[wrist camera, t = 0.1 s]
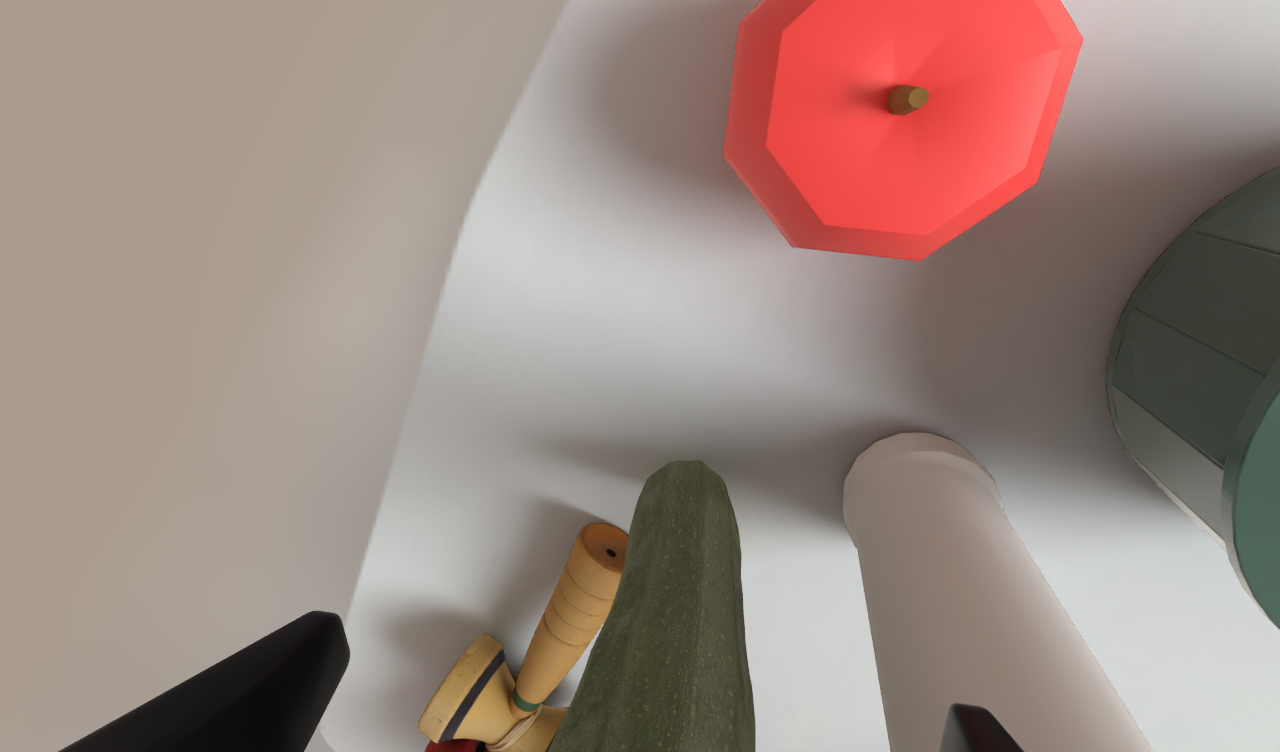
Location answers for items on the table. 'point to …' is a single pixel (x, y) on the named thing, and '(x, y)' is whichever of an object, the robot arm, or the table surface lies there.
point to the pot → (1200, 347)
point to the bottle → (968, 608)
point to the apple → (894, 115)
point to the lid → (1255, 498)
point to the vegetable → (671, 631)
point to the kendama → (528, 661)
